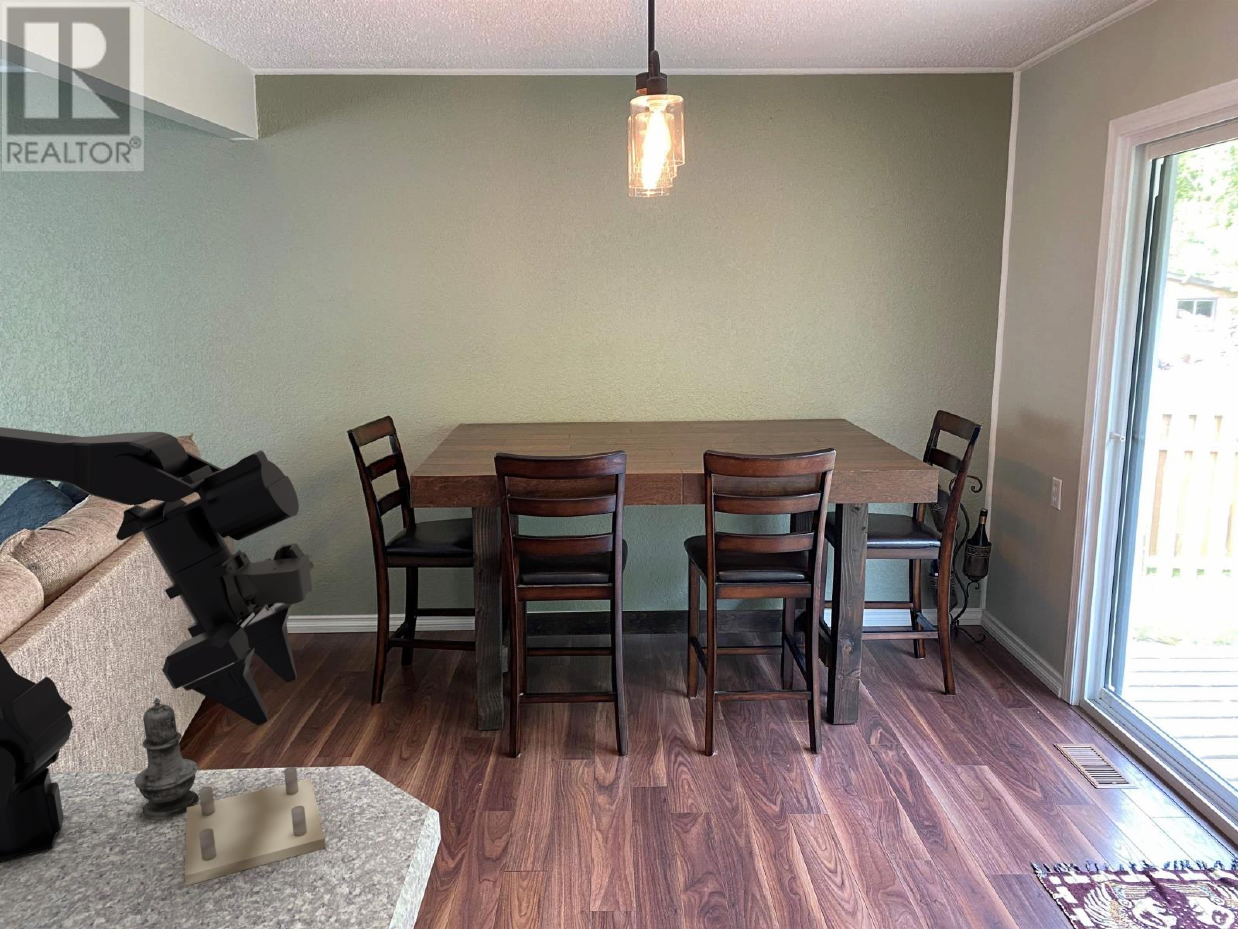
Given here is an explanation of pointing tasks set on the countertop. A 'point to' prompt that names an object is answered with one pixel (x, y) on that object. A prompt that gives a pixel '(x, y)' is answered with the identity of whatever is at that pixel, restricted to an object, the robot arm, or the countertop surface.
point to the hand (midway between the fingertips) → (278, 700)
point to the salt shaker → (165, 767)
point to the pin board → (251, 828)
